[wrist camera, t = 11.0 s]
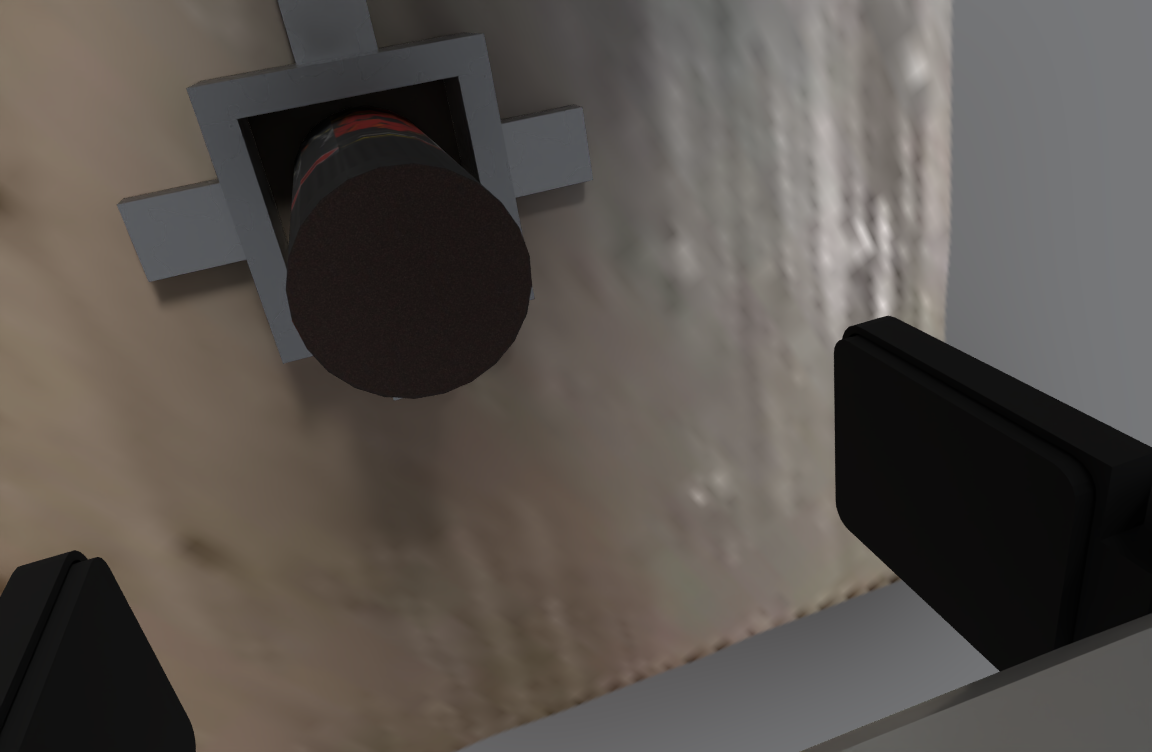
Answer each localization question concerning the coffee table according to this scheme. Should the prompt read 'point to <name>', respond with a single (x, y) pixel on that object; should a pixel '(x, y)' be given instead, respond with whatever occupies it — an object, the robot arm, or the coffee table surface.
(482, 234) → the deodorant
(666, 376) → the coffee table surface
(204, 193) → the tabbed square frame
